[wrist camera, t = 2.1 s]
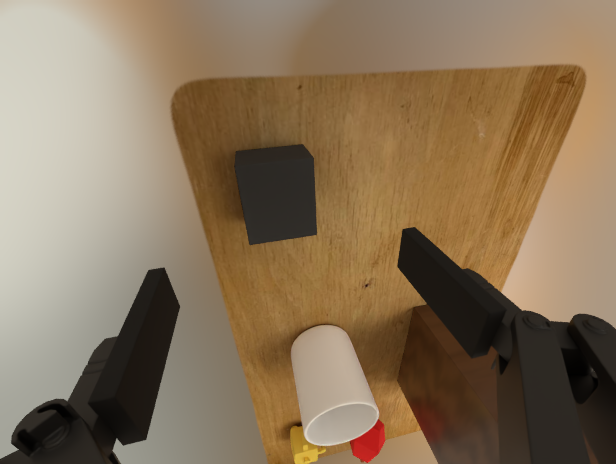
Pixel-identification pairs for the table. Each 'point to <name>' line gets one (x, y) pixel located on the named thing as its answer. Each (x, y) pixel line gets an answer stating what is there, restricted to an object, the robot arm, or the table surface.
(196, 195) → the table surface
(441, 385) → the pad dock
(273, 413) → the table surface
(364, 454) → the apple
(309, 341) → the mug
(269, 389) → the table surface
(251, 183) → the pad
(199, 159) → the table surface
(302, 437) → the teapot
